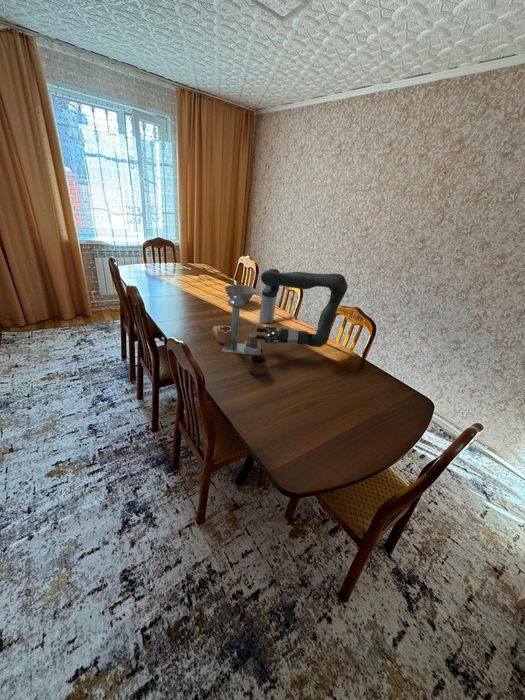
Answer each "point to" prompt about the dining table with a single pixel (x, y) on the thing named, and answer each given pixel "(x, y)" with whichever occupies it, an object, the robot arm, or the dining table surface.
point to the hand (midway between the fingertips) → (256, 333)
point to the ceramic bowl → (240, 292)
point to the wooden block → (252, 341)
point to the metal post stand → (233, 345)
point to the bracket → (222, 333)
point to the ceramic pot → (257, 365)
